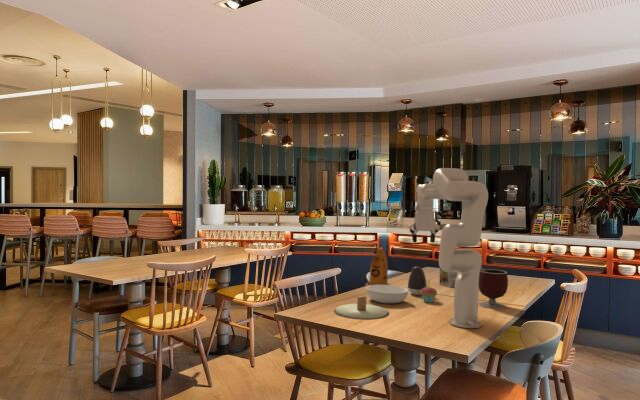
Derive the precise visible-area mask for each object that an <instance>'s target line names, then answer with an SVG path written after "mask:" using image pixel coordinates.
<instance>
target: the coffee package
mask: <svg viewBox="0 0 640 400" xmlns="http://www.w3.org/2000/svg"><path fill="white" fill-rule="evenodd" d="M374 252H376V253H375V256H374V258H373V259H372V261H371V263H370V267H369V283H370V286H371V285H388V271H389V266H388V264H389V263H388V257H387V254H386V253H385V251H384V248H383V247H379V248H375V249H374Z"/></svg>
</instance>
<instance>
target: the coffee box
mask: <svg viewBox="0 0 640 400" xmlns="http://www.w3.org/2000/svg"><path fill="white" fill-rule="evenodd" d="M457 276H458V272H445V271H443V270H441V268H440V267H439V283H438V284H439V285H442V286H445V287H447V288H455V280H456V277H457Z"/></svg>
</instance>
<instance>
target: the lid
mask: <svg viewBox="0 0 640 400" xmlns="http://www.w3.org/2000/svg"><path fill="white" fill-rule="evenodd" d="M356 302H357V303H350V304H349V303H348V304H347V303H346V304H342V305H339V306H337V307H336V308H335V309H336V313H337V314H339V315H342V316H345V317H349V318H348V319H351V318H357V319H356V320H361V319H372V320H376V319H375V318H381V317H384V316H386V315H387V311H388V310H387V308H384V307H382V306H379V305H375V304H367V296H366V295H357V299H356ZM337 314H336V315H337ZM339 315H338V316H339ZM345 317H344V318H345ZM381 319H382V318H381Z"/></svg>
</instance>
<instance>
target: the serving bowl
mask: <svg viewBox="0 0 640 400" xmlns="http://www.w3.org/2000/svg"><path fill="white" fill-rule="evenodd" d="M366 294H367V295H368V297H369V299H371V300H372V301H374V302H376V303H381V304H397V303H402V302H403V301H405V300H406V299H407V297H408V294H409V289H408V288H406V287H403V286H400V285H394V284H393V285H391V284H386V285H371V284H370V285H368V286H366Z"/></svg>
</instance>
